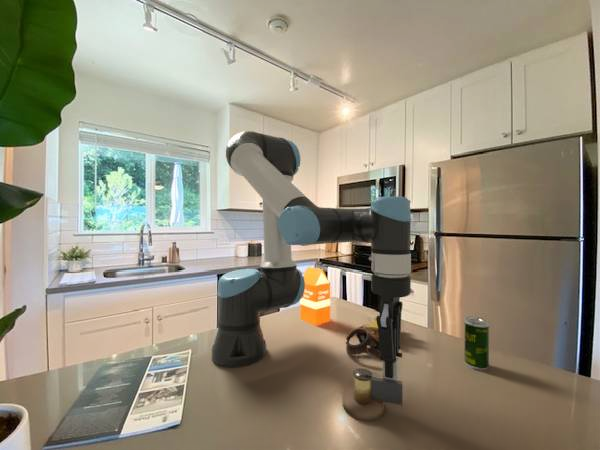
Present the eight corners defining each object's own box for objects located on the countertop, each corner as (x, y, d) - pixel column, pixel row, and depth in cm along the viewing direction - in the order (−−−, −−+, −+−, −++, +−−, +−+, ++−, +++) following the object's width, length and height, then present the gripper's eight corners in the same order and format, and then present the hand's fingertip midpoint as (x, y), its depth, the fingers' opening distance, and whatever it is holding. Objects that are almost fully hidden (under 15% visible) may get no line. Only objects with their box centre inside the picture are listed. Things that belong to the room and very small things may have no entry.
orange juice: (314, 315, 110) (314, 265, 110) (330, 321, 104) (330, 268, 103) (299, 319, 105) (299, 267, 105) (315, 326, 99) (315, 270, 98)
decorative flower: (372, 318, 101) (377, 293, 99) (402, 332, 94) (408, 306, 92) (352, 333, 90) (357, 306, 88) (384, 351, 83) (391, 322, 81)
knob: (352, 403, 54) (352, 377, 54) (353, 391, 58) (353, 367, 58) (403, 411, 51) (403, 384, 51) (401, 399, 55) (401, 373, 55)
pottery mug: (388, 364, 73) (376, 340, 71) (356, 377, 74) (343, 354, 73) (378, 335, 84) (367, 314, 83) (350, 346, 86) (339, 326, 84)
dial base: (336, 410, 54) (336, 402, 54) (352, 389, 61) (352, 382, 61) (375, 427, 50) (375, 418, 50) (388, 403, 56) (388, 395, 56)
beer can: (475, 359, 74) (475, 315, 74) (494, 369, 69) (494, 322, 69) (459, 361, 73) (459, 317, 73) (477, 372, 68) (477, 324, 68)
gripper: (379, 267, 62) (379, 369, 63) (362, 277, 51) (362, 402, 52) (415, 270, 59) (414, 379, 59) (404, 282, 47) (404, 416, 48)
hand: (390, 390), depth 55 cm, fingers closed
